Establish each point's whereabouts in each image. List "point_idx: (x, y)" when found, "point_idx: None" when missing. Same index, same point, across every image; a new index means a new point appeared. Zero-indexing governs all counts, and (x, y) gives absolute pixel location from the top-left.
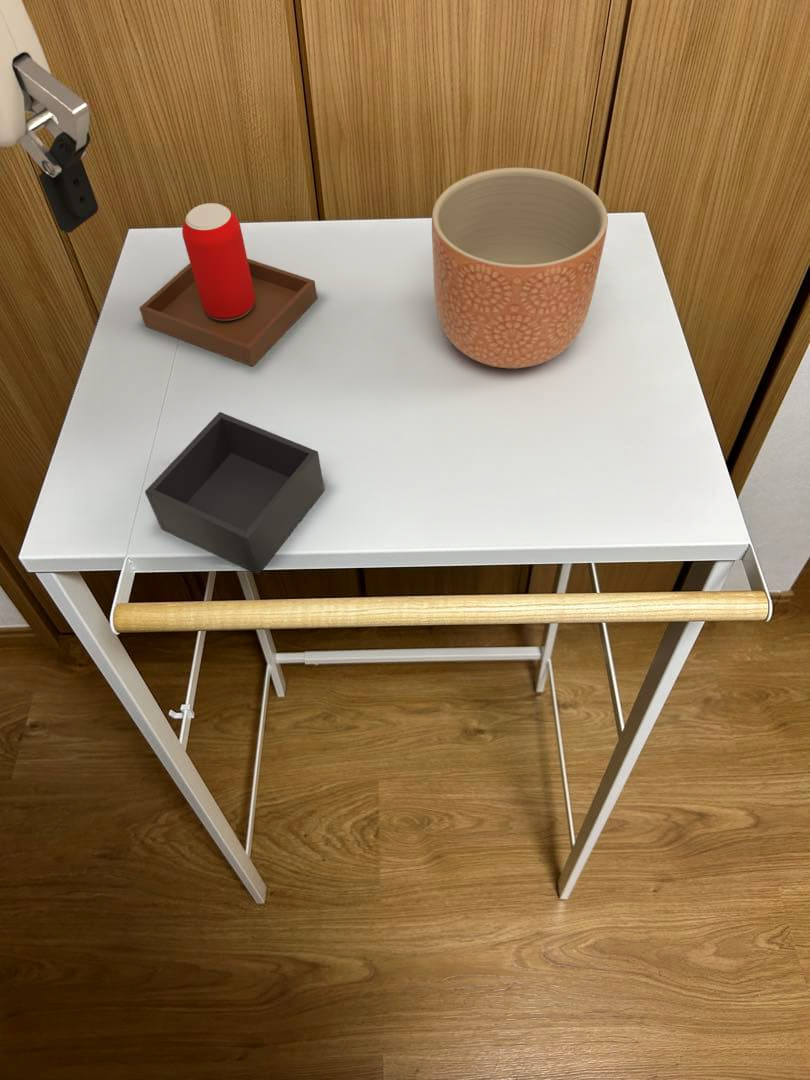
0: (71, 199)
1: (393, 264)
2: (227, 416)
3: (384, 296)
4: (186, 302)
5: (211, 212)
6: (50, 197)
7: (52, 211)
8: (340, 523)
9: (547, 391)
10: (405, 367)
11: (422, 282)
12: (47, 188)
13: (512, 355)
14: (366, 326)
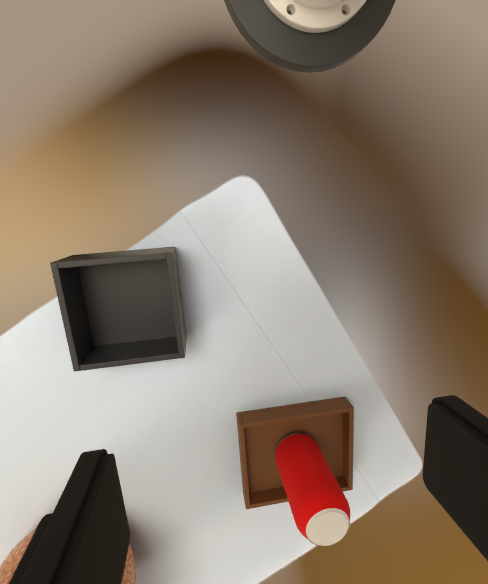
0: (19, 566)
1: (216, 553)
2: (174, 357)
3: (198, 524)
4: (331, 433)
5: (327, 533)
6: (44, 544)
7: (96, 490)
8: (55, 331)
9: (13, 521)
10: (129, 478)
11: (182, 551)
12: (25, 582)
13: (25, 541)
14: (187, 493)
